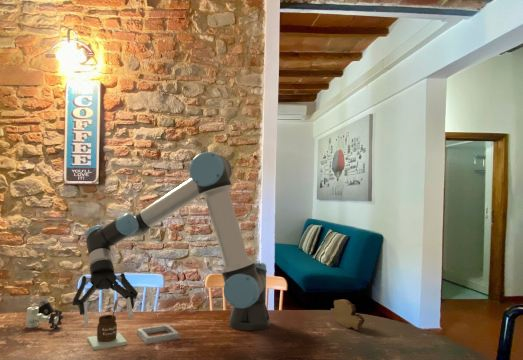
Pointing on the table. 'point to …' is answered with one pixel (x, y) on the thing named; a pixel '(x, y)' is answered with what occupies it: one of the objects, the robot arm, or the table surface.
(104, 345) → the green tile
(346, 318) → the wooden carving
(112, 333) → the utensil holder
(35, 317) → the valve
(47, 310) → the lighter
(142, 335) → the grey square frame
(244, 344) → the table surface
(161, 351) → the table surface
